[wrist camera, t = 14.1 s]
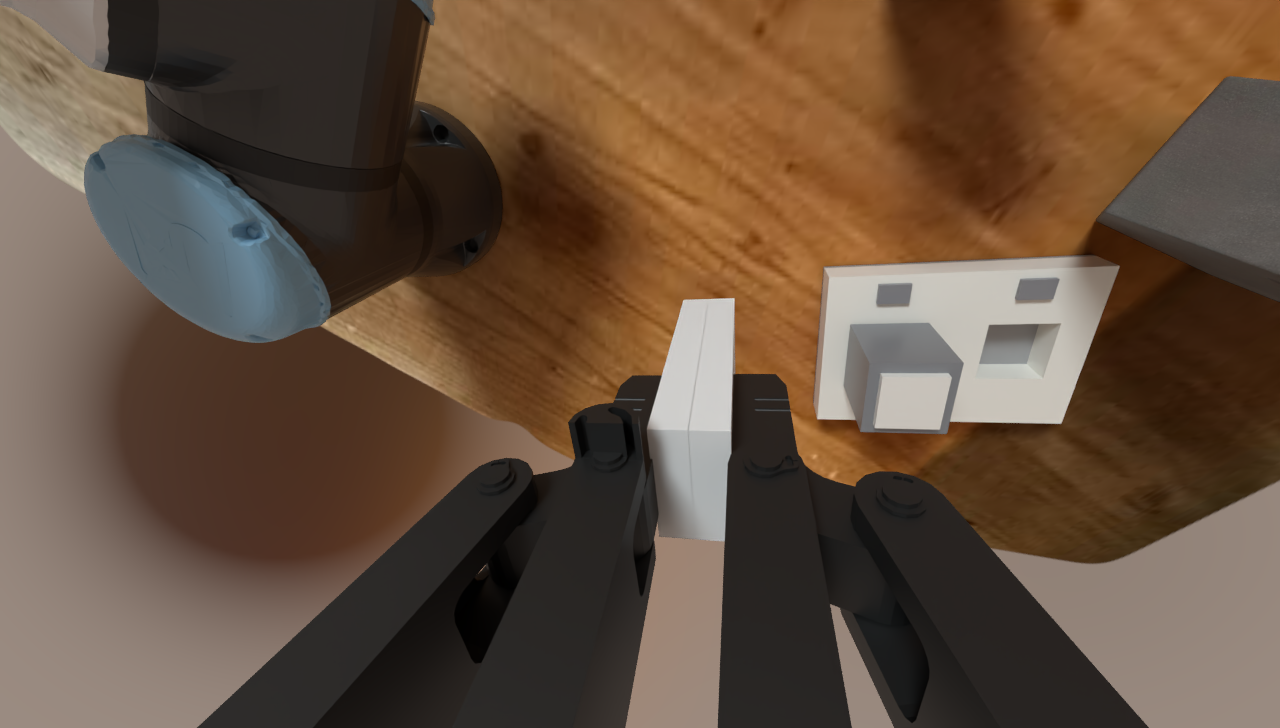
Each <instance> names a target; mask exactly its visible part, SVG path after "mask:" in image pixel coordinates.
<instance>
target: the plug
mask: <svg viewBox="0 0 1280 728" xmlns="http://www.w3.org/2000/svg"><path fill="white" fill-rule="evenodd" d="M963 365H964V363H963V361H962V360H961V359H960V358H959V357H958V356H957V355H956V353H955V352H954V351H953V350H952V349H951V348H950V346H949V345H948V344H947V343H946V342H945V341H944V339H943V338H942V337H941V336H940V335H939V334H938V333H937V331H936V330H935V329H934V328H933V327H932V326H931V324H930V323H889V324H850V331H849V340H848V349H847V358H846V367H845V376H844V385H843V386H844V388H845V391H846V394H847V397H848V399H849V402H850V405H851V408H852V410H853V413H854V416H855V419H856V421H857V424H858V427H859V430H860V432H885V433H927V434H947V431H948V427H949V423H950V419H951V414H952V410H953V406H954V402H955V398H956V394H957V390H958V385H959V381H960V377H961V373H962V369H963Z"/></svg>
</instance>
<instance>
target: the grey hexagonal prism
mask: <svg viewBox="0 0 1280 728" xmlns="http://www.w3.org/2000/svg"><path fill="white" fill-rule="evenodd" d="M1096 221H1097V222H1099V223H1101V224H1103V225H1105V226H1108V227H1110V228H1112V229H1114V230H1116V231H1118V232H1120V233H1123V234H1125V235H1127V236H1129V237H1131V238H1133V239H1135V240H1138V241H1140V242H1142V243H1144V244H1146V245H1148V246H1150V247H1152V248H1155V249H1157V250H1159V251H1161V252H1163V253H1165V254H1167V255H1169V256H1172V257H1174V258H1176V259H1178V260H1180V261H1182V262H1184V263H1186V264H1189V265H1191V266H1193V267H1195V268H1197V269H1199V270H1201V271H1204V272H1206V273H1208V274H1210V275H1212V276H1215V277H1217V278H1220V279H1222V280H1225V281H1227V282H1230V283H1232V284H1235V285H1237V286H1240V287H1242V288H1245V289H1248V290H1250V291H1253V292H1255V293H1258V294H1260V295H1263V296H1265V297H1268V298H1270V299H1273V300H1275V301H1278V302H1280V81H1272V80H1263V79H1253V78H1243V77H1232V76H1230V77H1226V78H1225V79H1224V80H1223V81H1222V82H1221V83H1220V84H1219V85H1218V86H1217V87H1216V88H1215V89H1214V90H1213V91H1212V92H1211V94H1210V95H1209V96H1208V97H1207V98H1206V99H1205V100H1204V101H1203V102H1202V103H1201V104H1200V105H1199V106H1198V107H1197V109H1196V110H1195V111H1194V112H1193V113H1192V114H1191V115H1190V116H1189V117H1188V118H1187V119H1186V121H1185V122H1184V123H1183V124H1182V125H1181V126H1180V127H1179V128H1178V129H1177V130H1176V132H1175V133H1174V134H1173V135H1172V136H1171V137H1170V138H1169V139H1168V140H1167V141H1166V143H1165V144H1164V145H1163V146H1162V147H1161V148H1160V149H1159V150H1158V151H1157V152H1156V154H1155V155H1154V156H1153V157H1152V158H1151V159H1150V160H1149V161H1148V162H1147V163H1146V165H1145V166H1144V167H1143V168H1142V169H1141V170H1140V171H1139V172H1138V173H1137V174H1136V176H1135V177H1134V178H1133V179H1132V180H1131V181H1130V182H1129V183H1128V184H1127V185H1126V187H1125V188H1124V189H1123V190H1122V191H1121V192H1120V193H1119V194H1118V195H1117V196H1116V198H1115V199H1114V200H1113V201H1112V202H1111V203H1110V204H1109V205H1108V206H1107V208H1106V209H1105V210H1104V211H1103V212H1102V213H1101V214H1100V215H1099V216H1098V217H1097V219H1096Z"/></svg>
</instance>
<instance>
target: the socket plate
mask: <svg viewBox="0 0 1280 728" xmlns="http://www.w3.org/2000/svg"><path fill="white" fill-rule="evenodd" d="M1119 267H1120V266H1119V265H1117V264H1114V263H1112V262H1110V261H1107V260H1105V259H1103V258H1100V257H1098V256H1096V255H1075V256H1053V257H1030V258H1008V259H986V260H963V261H941V262H919V263H897V264H874V265H852V266H830V267H824V269H823V282H822V295H821V308H820V321H819V333H818V346H817V359H816V372H815V385H814V398H813V403H814V408H815V412H816V416H817V419H837V420H856V419H855V416H854V413H853V410H852V408H851V405H850V402H849V399H848V397H847V394H846V391H845V388H844V386H843V385H844V376H845V367H846V358H847V349H848V340H849V331H850V324H889V323H930V324H931V326H932V327H933V328H934V329H935V330H936V331H937V333H938V334H939V335H940V336H941V337H942V338H943V339H944V341H945V342H946V343H947V344H948V345H949V346H950V348H951V349H952V350H953V351H954V352H955V353H956V355H957V356H958V357H959V358H960V359H961V360H962V361H963V363H964V365H963V369H962V373H961V377H960V381H959V385H958V390H957V394H956V398H955V402H954V406H953V410H952V414H951V419H950V422H995V423H1047V424H1061V423H1062V420H1063V418H1064V415H1065V412H1066V410H1067V407H1068V404H1069V402H1070V399H1071V396H1072V393H1073V391H1074V388H1075V385H1076V383H1077V380H1078V377H1079V375H1080V372H1081V369H1082V367H1083V364H1084V361H1085V359H1086V356H1087V353H1088V351H1089V348H1090V345H1091V342H1092V340H1093V337H1094V334H1095V332H1096V329H1097V326H1098V324H1099V321H1100V318H1101V316H1102V313H1103V310H1104V308H1105V305H1106V302H1107V300H1108V297H1109V294H1110V292H1111V289H1112V286H1113V283H1114V281H1115V278H1116V275H1117V273H1118V270H1119Z"/></svg>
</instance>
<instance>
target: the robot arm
mask: <svg viewBox="0 0 1280 728" xmlns="http://www.w3.org/2000/svg"><path fill="white" fill-rule="evenodd" d="M0 5H2V6H6V7H10V8H13V9H14V10H16V11H18V12H20V13H22V14H23V15H25V16H27V17H29V18H30V19H32V20H34V21H35V22H36V23H38V24H39V25H40V26H41V27H42V28H43V29H45V30H46V31H47V32H48V33H49V34H50V35H52V36H53V37H54V38H55V39H56V40H57V41H59V42H60V43H61V44H62V45H63V46H64V47H66V48H67V49H68V50H69V51H70V52H71V53H73V54H74V55H75V56H76V57H77V58H78V59H80V60H81V61H82V62H83V63H84V64H85V65H87V66H88V67H90V68H93V69H96V70H99V71H103V72H107V73H112V74H116V75H121V76H125V77H130V78H134V79H139V80H144V83H145V94H146V107H147V120H148V134H147V136H146V135H136V134H132V135H122V136H119V137H117V138H116V139H114V140H113V141H112V142H108V143H106V144H104V145H102V146H101V148H100V149H99V151H98V152H94V153H93V154H91V155H90V157H89V158H88V160H87V163H86V165H85V171H84V186H85V192H86V196H87V200H88V203H89V206H90V209H91V212H92V214H93V216H94V219H95V221H96V223H97V225H98V227H99V228H100V230H101V232H102V234H103V235H104V237H105V239H106V240H107V242H108V243H109V245H110V246H111V248H112V249H113V251H114V252H115V253H116V255H117V256H118V257H119V259H120V260H121V261H122V262H123V263H124V265H125V266H126V267H127V268H128V269H129V271H130V272H131V273H133V274H134V275H135V276H136V277H137V278H138V279H139V280H140V281H141V283H142V284H143V285H144V286H145V287H146V288H147V289H148V290H149V291H150V292H151V293H153V294H154V295H155V296H156V297H157V298H158V299H160V300H161V301H162V302H163V303H164V304H166V305H167V306H168V307H170V308H171V309H172V310H174V311H175V312H177V313H178V314H180V315H181V316H183V317H184V318H186V319H188V320H189V321H191V322H193V323H195V324H197V325H198V326H200V327H202V328H204V329H206V330H209V331H211V332H213V333H216V334H218V335H221V336H224V337H227V338H231V339H235V340H239V341H244V342H260V343H261V342H269V341H275V340H279V339H282V338H285V337H287V336H289V335H292V334H294V333H296V332H299V331H301V330H303V329H306V328H312V327H318V326H320V325H322V324H323V323H324V322H326V320H327V319H329V318H330V317H332V316H334V315H336V314H338V313H340V312H342V311H343V310H345V309H347V308H349V307H351V306H353V305H355V304H356V303H358V302H360V301H362V300H364V299H366V298H368V297H369V296H371V295H373V294H375V293H377V292H379V291H381V290H382V289H384V288H386V287H388V286H390V285H392V284H394V283H396V282H398V281H399V280H401V279H403V278H405V277H428V276H445V275H449V274H453V273H456V272H459V271H461V270H463V269H465V268H467V267H468V266H470V265H472V264H473V263H475V262H477V261H478V260H479V259H481V258H482V257H483V256H484V255H485V254H486V253H487V252H488V251H489V249H490V248H491V247H492V245H493V243H494V241H495V239H496V237H497V235H498V232H499V229H500V225H501V219H502V195H501V189H500V184H499V180H498V177H497V174H496V171H495V169H494V166H493V164H492V162H491V160H490V158H489V156H488V154H487V152H486V151H485V149H484V148H483V146H482V145H481V143H480V142H479V141H478V139H477V138H476V137H475V136H474V134H473V133H472V132H471V131H470V130H469V129H468V128H467V127H466V126H465V125H464V124H462V123H461V122H460V121H459V120H458V119H456V118H455V117H454V116H452V115H451V114H449V113H447V112H446V111H444V110H442V109H440V108H438V107H436V106H433V105H430V104H427V103H423V102H418V101H415V97H416V93H417V88H418V83H419V78H420V73H421V68H422V63H423V58H424V53H425V48H426V43H427V38H428V33H429V28H430V25H434V20H435V15H434V12H433V10H432V6H433V0H0ZM568 424H569V429H570V434H571V438H572V443H573V448H574V453H575V460H574V463H573V465H572V466H571V467H569V468H566V469H563V470H558V471H554V472H548V473H543V474H538V475H533V471H532V469H531V468H530V466H529V465H528V463H526V462H524V461H522V460H520V459H512V458H504V459H499V460H494V461H491V462H489V463H486V464H484V465H481V466H479V467H478V468H477V469H475V470H474V471H473V472H471V473H470V474H469V475H467V476H466V477H465V478H464V479H463V480H462V481H461V482H460V483H459V484H458V485H457V486H456V487H455V488H454V489H453V490H451V491H450V492H449V493H448V494H447V495H446V496H445V497H444V498H443V499H442V500H441V501H440V502H439V503H437V504H436V505H435V506H434V507H433V508H432V509H431V510H430V511H429V512H428V513H427V514H426V515H425V516H424V517H423V518H421V519H420V520H419V521H418V522H417V523H416V524H415V525H414V526H413V527H412V528H411V529H410V530H409V531H408V532H406V533H405V534H404V535H403V536H402V537H401V538H400V539H399V540H398V541H397V542H396V543H395V544H394V545H392V546H391V547H390V548H389V549H388V550H387V551H386V552H385V553H384V554H383V555H382V556H381V557H380V558H379V559H378V560H377V561H375V562H374V563H373V564H372V565H371V566H370V567H369V568H368V569H367V570H366V571H365V572H364V573H362V574H361V575H360V576H359V577H358V578H357V579H356V580H355V581H354V582H353V583H352V584H351V585H350V586H349V587H347V588H346V589H345V590H344V591H343V592H342V593H341V594H340V595H339V596H338V597H337V598H336V599H335V600H334V601H333V602H331V603H330V604H329V605H328V606H327V607H326V608H325V609H324V610H323V611H322V612H321V613H320V614H319V615H317V616H316V617H315V618H314V619H313V620H312V621H311V622H310V623H309V624H308V625H307V626H306V627H305V628H303V629H302V630H301V631H300V632H299V633H298V634H297V635H296V636H295V637H294V638H293V639H292V640H291V641H290V642H288V644H286V645H285V646H284V647H283V648H282V649H281V650H280V651H279V652H278V653H277V654H276V655H275V656H274V657H272V658H271V659H270V660H269V661H268V662H267V663H266V664H265V665H264V666H263V667H262V668H261V669H260V670H258V671H257V672H256V673H255V674H254V675H253V676H252V677H251V678H250V679H249V680H248V681H247V682H246V683H245V684H244V685H242V686H241V688H239V689H238V690H237V691H236V692H235V693H234V694H233V695H232V696H231V697H230V698H228V700H226V701H225V702H224V703H223V704H222V705H221V706H220V707H219V708H218V709H217V710H216V711H215V712H213V714H211V715H210V716H209V717H208V718H207V719H206V720H205V721H204V722H203V723H202V724H201V725H200V726H198V727H197V728H625V726H626V720H627V715H628V709H629V704H630V698H631V693H632V687H633V682H634V676H635V670H636V665H637V660H638V654H639V648H640V643H641V638H642V632H643V626H644V621H645V615H646V610H647V604H648V599H649V593H650V588H651V582H652V576H653V570H654V566H655V559H656V556H655V544H654V536H655V530H656V526H657V522H658V530H659V536H660V537H672V538H686V539H700V540H713V541H725V548H724V549H725V550H724V575H723V576H724V577H723V602H722V603H723V604H722V628H721V656H720V682H719V709H718V728H852V726H851V721H850V715H849V710H848V704H847V698H846V693H845V687H844V682H843V676H842V671H841V664H840V659H839V653H838V647H837V642H836V636H835V631H834V625H833V619H832V613H831V608H830V604H832V605H835V606H837V607H840V610H841V613H842V616H843V618H844V620H845V623H846V625H847V627H848V629H849V631H850V633H851V635H852V637H853V640H854V642H855V644H856V646H857V648H858V650H859V653H860V654H861V657H862V659H863V661H864V663H865V665H866V667H867V670H868V672H869V674H870V676H871V678H872V681H873V683H874V685H875V687H876V689H877V691H878V694H879V696H880V698H881V700H882V702H883V704H884V706H885V709H886V710H887V713H888V715H889V717H890V719H891V721H892V724H893V726H894V728H1149V727H1148V726H1147V725H1146V724H1145V723H1144V722H1143V721H1142V720H1141V718H1140V717H1139V716H1138V715H1137V714H1136V713H1135V712H1134V710H1133V709H1132V708H1131V707H1130V706H1129V705H1128V704H1127V703H1126V701H1125V700H1124V699H1123V698H1122V697H1121V696H1120V695H1119V694H1118V692H1117V691H1116V690H1115V689H1114V688H1113V687H1112V686H1111V684H1110V683H1109V682H1108V681H1107V680H1106V679H1105V678H1104V676H1103V675H1102V674H1101V673H1100V672H1099V671H1098V670H1097V669H1096V667H1095V666H1094V665H1093V664H1092V663H1091V662H1090V661H1089V660H1088V658H1087V657H1086V656H1085V655H1084V654H1083V653H1082V652H1081V650H1080V649H1079V648H1078V647H1077V646H1076V645H1075V644H1074V642H1073V641H1072V640H1071V639H1070V638H1069V637H1068V636H1067V635H1066V633H1065V632H1064V631H1063V630H1062V629H1061V628H1060V627H1059V625H1058V624H1057V623H1056V622H1055V621H1054V620H1053V619H1052V618H1051V616H1050V615H1049V614H1048V613H1047V612H1046V611H1045V610H1044V608H1042V606H1041V605H1040V604H1039V603H1038V602H1037V601H1036V599H1035V598H1034V597H1033V596H1032V595H1031V594H1030V593H1029V591H1028V590H1027V589H1026V588H1025V587H1024V586H1023V585H1022V584H1021V582H1020V581H1019V580H1018V579H1017V578H1016V577H1015V576H1014V575H1013V573H1012V572H1010V570H1009V569H1008V568H1007V567H1006V565H1005V564H1004V563H1003V562H1002V561H1001V560H1000V559H999V557H997V555H996V554H995V553H994V552H993V551H992V550H991V548H990V547H989V546H988V545H987V544H986V543H985V542H984V540H983V539H982V538H981V537H980V536H979V535H978V534H977V533H976V531H975V530H974V529H973V528H972V527H971V526H970V525H969V523H968V522H967V521H966V520H965V519H964V518H963V517H962V516H961V514H960V513H959V512H958V511H957V510H956V509H955V508H954V506H953V505H952V504H951V503H950V502H949V501H948V500H947V499H946V497H945V496H944V495H943V494H942V493H940V492H939V491H938V490H937V489H936V488H934V487H933V486H932V485H931V484H929V483H927V482H925V481H923V480H921V479H919V478H917V477H915V476H911V475H907V474H903V473H899V472H876V473H872V474H868V475H865V476H864V477H863V478H862V479H860V480H859V481H858V482H857V483H856V487H854V486H850V485H846V484H843V483H839V482H835V481H832V480H829V479H827V478H824V477H822V476H820V475H818V474H816V473H814V472H813V471H812V470H810V469H809V468H808V467H807V466H805V465H804V463H803V460H802V458H801V457H800V456H799V455H798V452H797V447H796V441H795V435H794V429H793V423H792V417H791V412H790V405H789V401H788V393H787V387H786V384H785V383H784V382H783V381H782V380H781V379H780V378H779V377H778V376H777V375H776V374H735V307H734V298H728V299H697V300H683V304H682V307H681V311H680V314H679V318H678V321H677V325H676V328H675V332H674V335H673V339H672V342H671V346H670V349H669V353H668V356H667V360H666V363H665V367H664V370H663V374H662V376H632V377H630V378H629V379H628V380H627V381H626V382H624V383H623V384H622V385H621V386H620V388H619V390H618V393H617V395H616V398H615V400H614V402H613V403H608V404H598V405H595V406H592V407H588V408H585V409H584V410H582V411H580V412H579V413H577V414H575V415H574V416H573V417H572V419H571V420H570V421H569V422H568ZM485 565H486V566H485ZM484 566H485V567H484ZM483 567H484V568H483ZM482 568H483V570H482V571H481V572H480V573H479V571H480V570H481V569H482Z"/></svg>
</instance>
